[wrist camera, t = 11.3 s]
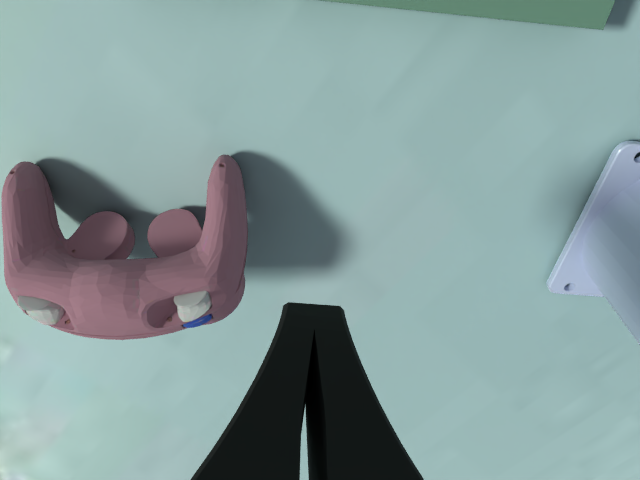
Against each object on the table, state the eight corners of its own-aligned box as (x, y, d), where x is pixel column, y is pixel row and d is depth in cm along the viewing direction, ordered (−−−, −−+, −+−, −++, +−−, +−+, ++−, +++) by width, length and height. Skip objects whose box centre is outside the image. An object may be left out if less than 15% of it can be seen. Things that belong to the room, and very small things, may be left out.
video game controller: (62, 209, 23) (21, 350, 19) (1, 151, 19) (-63, 316, 15) (260, 203, 22) (252, 345, 19) (242, 143, 18) (229, 309, 15)
